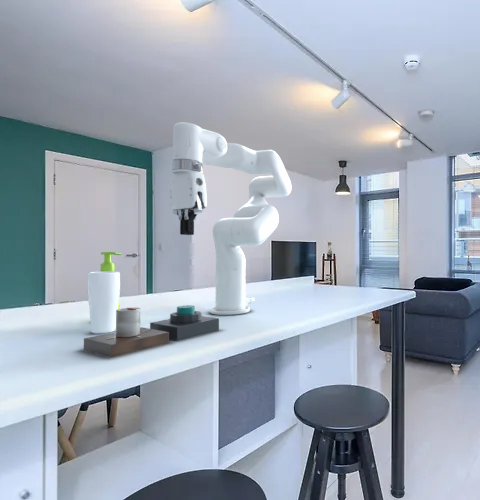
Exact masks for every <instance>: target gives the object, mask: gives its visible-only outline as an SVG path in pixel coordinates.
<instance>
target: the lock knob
mask: <svg viewBox="0 0 480 500" xmlns="http://www.w3.org/2000/svg"><path fill="white" fill-rule="evenodd" d="M140 327H141V307H122V308H119V309H117V310H116V330H115V332H116V337H132V336H137V335H139V334H140Z"/></svg>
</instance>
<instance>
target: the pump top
mask: <svg viewBox="0 0 480 500" xmlns="http://www.w3.org/2000/svg"><path fill="white" fill-rule="evenodd" d="M195 308H196V306H195V305H192V304H191V305H189V304H187V305H179V306H178V305H177V307H176V312H177V315H190V314H195V311H196V309H195Z"/></svg>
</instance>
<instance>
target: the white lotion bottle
mask: <svg viewBox="0 0 480 500" xmlns="http://www.w3.org/2000/svg"><path fill="white" fill-rule="evenodd" d="M86 281H87V283H86V285H87V298H88V299H87V300H88V308H89V309H88V311H89V320H90V332H91V333H92V334H96V335H97V334H99V335H102V334H109V333H114V332H116V310H117V309H118V304H119V295H120V293H121V271H106V272H101V271H90V272H89V271H88V272H87V280H86ZM120 296H121V295H120Z"/></svg>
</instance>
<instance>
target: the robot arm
mask: <svg viewBox="0 0 480 500" xmlns="http://www.w3.org/2000/svg"><path fill="white" fill-rule="evenodd" d="M203 165H206V166H212V167H219V168H224V169H225V168H226V169H233V170H236V171H238V172H239V171H240V172H243V173H245V174H249V175H261V176H257V177H254V178H253V179H251V180H250V182H249V184H248V185H249V186H248V193H249V195H248V197H249V200H248V201H247V202H246V203H244V204H243V205H242V206H241V207H239V208H238V209H237V210H236V211H235V213H234V215H233V216H232V217H224V218H220V219H219V220H217V221H216V222H215V223H214V225H213V227H212V237H213V241H214V249H215V301H214V303H215V305H214V306H215V307H212V308H211V309H210V312H209V313H210V314H211V315H219V316H232V315H233V316H234V315H241V314H246V313H249V312H250V311H251V308H250V306H249V304H254V303H255V302H256V299H255V297H249V298H248V297H247V296H246V279H247V278H246V276H247V275H246V268H247V259H246V256H245V254H244V251H243V250H242V248H241V247H258V246H261V245H262V244H263V243H264V242H265V241H266V240H268V238H270V236H271V235H272V234H273V233H274V232H275V230H276V229H277V228H278V225H279V222H280V215H279V212H278V209H277V208H276V207H275V206H274V205H271V204H269V203H268V201H267V200H266V199H268V198H269V199H270V198H286V197H288V196H289V195H290V194H291V192H292V189H293V187H292V182H291V179H290V176H289V174H288V172H287V169H286V168H285V164H284V163H283V161H282V159H281V157H280V156H279V154H278V153H277V152H276V151H275V150H274V149H265V150H264V149H263V150H262V149H261V150H253V149H251V148H249V147H247V146H244V145H242V144H240V143H235V142H227V140H226V138H225V137H224V136H223V135H221V134H220V133H219V132H216V131H212V130H209V129H204V128H202V127H200V126H199V125H197V124H195V123H193V122H187V121H186V122H185V121H182V122H176V123H175V124H174V125H173V128H172V176H171V181H170V191H169V205H170V208H171V209H172V214H173V215H177V216H178V220H179V226H180V227H179V234H180V235H182V236H183V235H184V236H193V235H195V221H196V219H197V215H199V214H201V213H203V210H205V209H206V208H207V205H208V195H207V184H206V178H205V174H204V173H203ZM269 174H271V175H269Z"/></svg>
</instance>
